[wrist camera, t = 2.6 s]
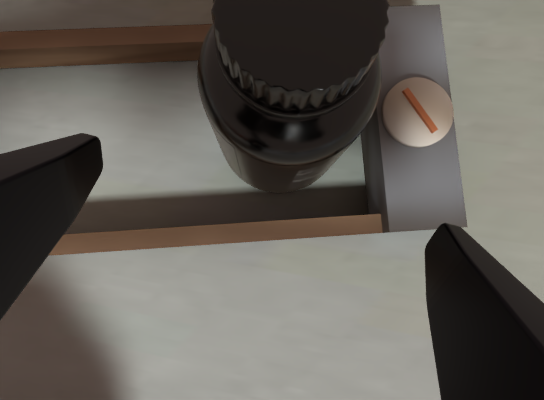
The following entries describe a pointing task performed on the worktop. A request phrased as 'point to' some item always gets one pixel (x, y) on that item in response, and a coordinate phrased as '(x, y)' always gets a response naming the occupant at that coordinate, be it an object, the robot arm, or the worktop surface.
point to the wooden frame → (375, 136)
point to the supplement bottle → (290, 84)
